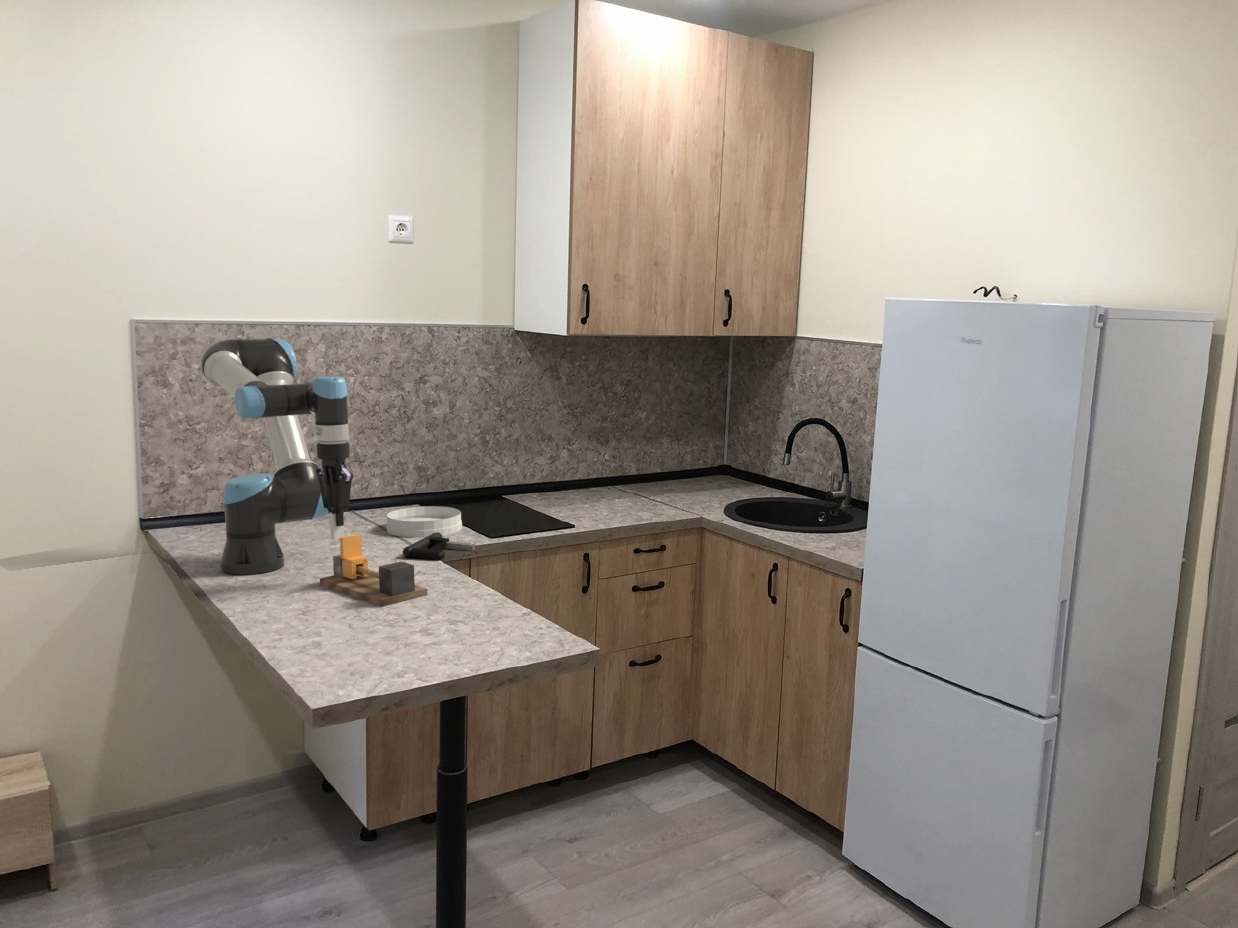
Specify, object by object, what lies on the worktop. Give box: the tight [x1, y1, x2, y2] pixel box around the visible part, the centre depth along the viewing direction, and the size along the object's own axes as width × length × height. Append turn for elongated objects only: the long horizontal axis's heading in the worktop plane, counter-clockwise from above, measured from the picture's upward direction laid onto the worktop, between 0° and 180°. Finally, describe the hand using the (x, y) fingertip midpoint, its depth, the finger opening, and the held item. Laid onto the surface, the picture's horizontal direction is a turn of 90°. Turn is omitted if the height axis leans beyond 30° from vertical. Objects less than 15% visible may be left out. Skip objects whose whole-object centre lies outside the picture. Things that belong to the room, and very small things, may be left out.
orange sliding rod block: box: [339, 533, 369, 579], centre depth 232 cm, size 4×5×10 cm
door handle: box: [402, 532, 476, 561], centre depth 265 cm, size 3×20×16 cm
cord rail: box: [319, 553, 428, 607], centre depth 228 cm, size 26×12×8 cm, turn 47°
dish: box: [385, 505, 463, 538], centre depth 292 cm, size 22×22×5 cm
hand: (337, 538), depth 236 cm, fingers closed
